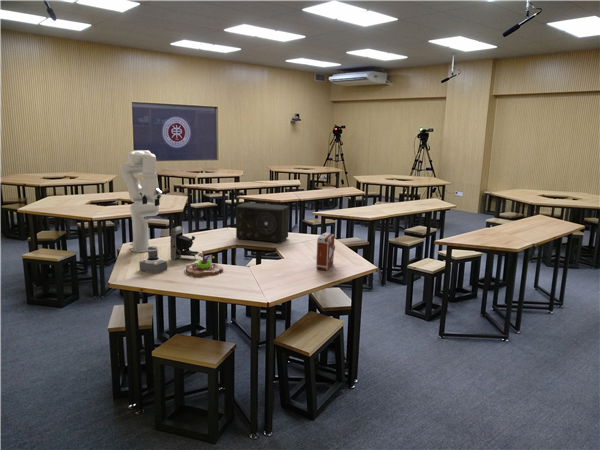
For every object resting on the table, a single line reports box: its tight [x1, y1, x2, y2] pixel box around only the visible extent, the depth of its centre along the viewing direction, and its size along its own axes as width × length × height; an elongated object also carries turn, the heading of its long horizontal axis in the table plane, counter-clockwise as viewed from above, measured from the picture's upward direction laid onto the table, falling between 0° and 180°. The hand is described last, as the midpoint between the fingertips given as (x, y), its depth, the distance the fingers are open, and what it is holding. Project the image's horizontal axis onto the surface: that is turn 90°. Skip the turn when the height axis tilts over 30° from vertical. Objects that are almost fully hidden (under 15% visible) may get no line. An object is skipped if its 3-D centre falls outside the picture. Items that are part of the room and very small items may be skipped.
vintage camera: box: [169, 225, 201, 260], centre depth 274 cm, size 10×16×20 cm, turn 78°
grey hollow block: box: [138, 256, 168, 275], centre depth 252 cm, size 12×9×6 cm
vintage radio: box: [235, 202, 290, 244], centre depth 328 cm, size 38×20×25 cm, turn 74°
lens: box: [147, 245, 159, 261], centre depth 251 cm, size 5×5×8 cm
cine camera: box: [315, 232, 336, 271], centre depth 267 cm, size 9×19×20 cm, turn 161°
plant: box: [185, 252, 224, 278], centre depth 252 cm, size 20×20×11 cm
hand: (151, 204), depth 263 cm, fingers open, 9 cm apart
